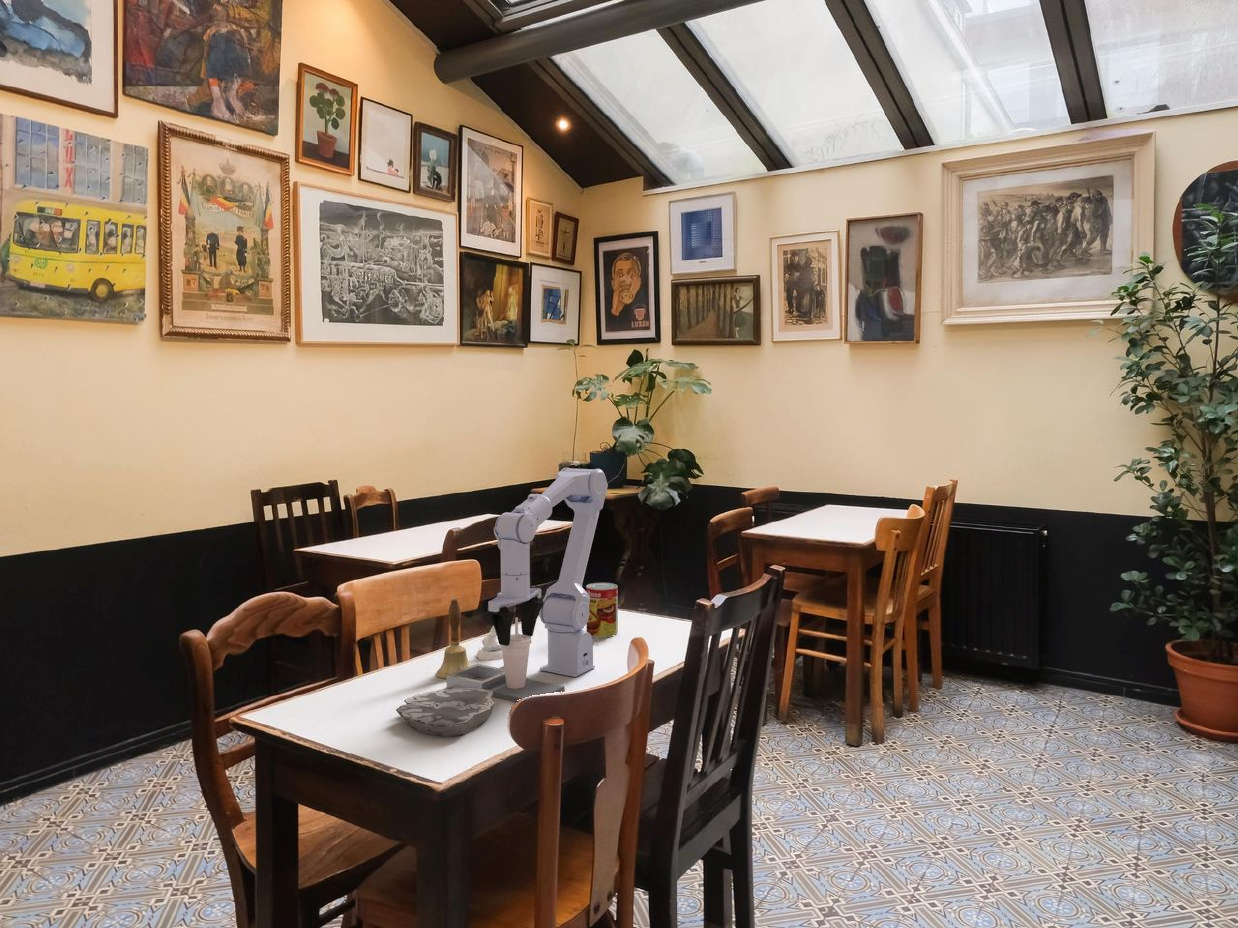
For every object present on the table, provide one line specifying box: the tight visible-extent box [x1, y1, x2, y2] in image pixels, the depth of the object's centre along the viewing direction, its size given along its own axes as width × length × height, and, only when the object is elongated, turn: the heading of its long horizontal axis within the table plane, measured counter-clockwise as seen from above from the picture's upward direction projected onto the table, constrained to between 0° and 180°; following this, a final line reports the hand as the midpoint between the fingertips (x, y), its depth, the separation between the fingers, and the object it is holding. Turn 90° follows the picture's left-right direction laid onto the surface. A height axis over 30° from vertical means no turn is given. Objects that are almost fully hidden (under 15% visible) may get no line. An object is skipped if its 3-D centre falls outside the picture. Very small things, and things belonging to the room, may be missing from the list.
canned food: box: [585, 582, 619, 638], centre depth 218 cm, size 8×8×12 cm
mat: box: [491, 677, 566, 703], centre depth 173 cm, size 11×10×1 cm
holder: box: [445, 663, 506, 690], centre depth 179 cm, size 10×12×2 cm
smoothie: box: [501, 616, 532, 689], centre depth 174 cm, size 6×6×14 cm
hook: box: [475, 625, 503, 661], centre depth 198 cm, size 8×12×7 cm
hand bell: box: [435, 598, 472, 680], centre depth 185 cm, size 8×8×16 cm
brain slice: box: [395, 688, 495, 738], centre depth 159 cm, size 20×17×3 cm
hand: (516, 640), depth 174 cm, fingers open, 7 cm apart
